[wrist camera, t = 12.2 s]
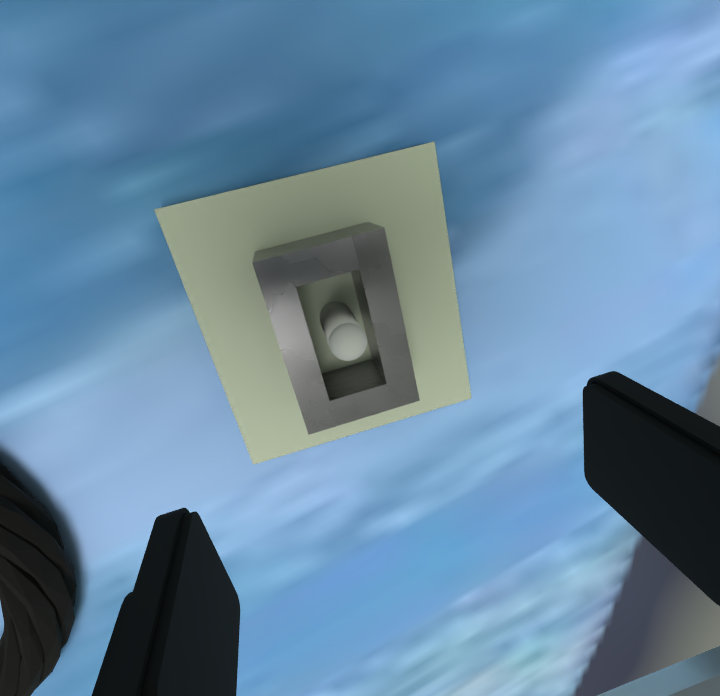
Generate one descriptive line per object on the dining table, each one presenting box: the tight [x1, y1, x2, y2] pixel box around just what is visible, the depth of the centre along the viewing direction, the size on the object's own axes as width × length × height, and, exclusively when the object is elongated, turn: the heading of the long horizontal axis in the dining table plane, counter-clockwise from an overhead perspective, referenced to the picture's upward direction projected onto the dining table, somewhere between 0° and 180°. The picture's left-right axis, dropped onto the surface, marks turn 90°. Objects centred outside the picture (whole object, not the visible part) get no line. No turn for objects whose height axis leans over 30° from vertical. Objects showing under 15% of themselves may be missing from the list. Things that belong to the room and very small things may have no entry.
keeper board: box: [154, 142, 471, 465], centre depth 23 cm, size 15×14×6 cm
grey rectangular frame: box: [252, 222, 420, 435], centre depth 22 cm, size 9×6×4 cm, turn 13°
